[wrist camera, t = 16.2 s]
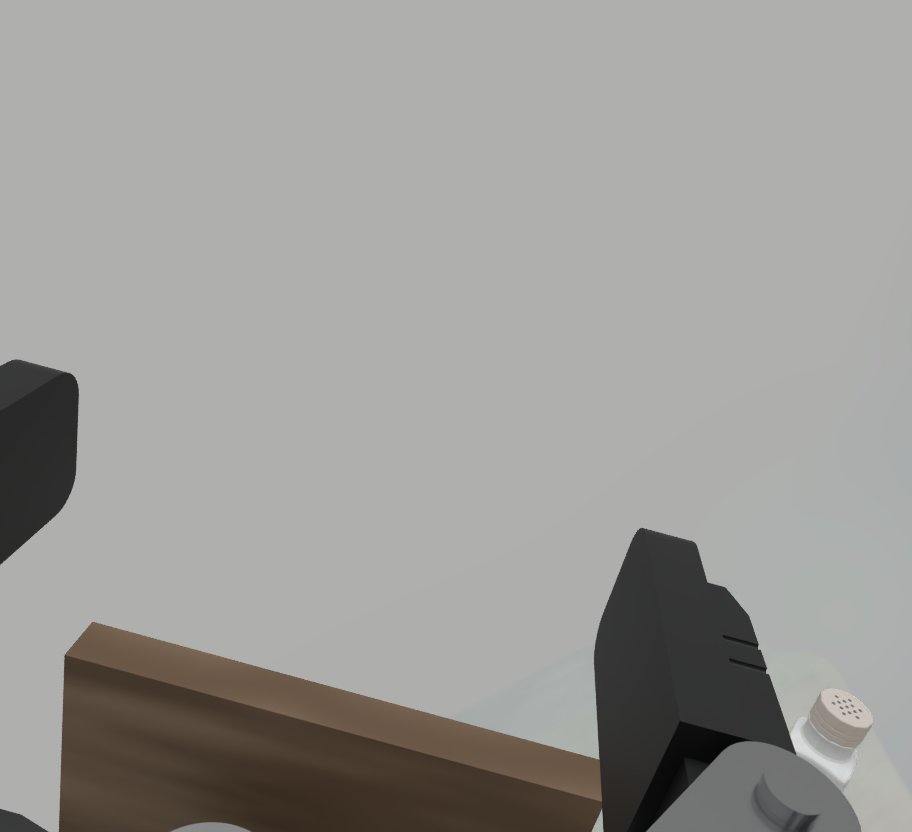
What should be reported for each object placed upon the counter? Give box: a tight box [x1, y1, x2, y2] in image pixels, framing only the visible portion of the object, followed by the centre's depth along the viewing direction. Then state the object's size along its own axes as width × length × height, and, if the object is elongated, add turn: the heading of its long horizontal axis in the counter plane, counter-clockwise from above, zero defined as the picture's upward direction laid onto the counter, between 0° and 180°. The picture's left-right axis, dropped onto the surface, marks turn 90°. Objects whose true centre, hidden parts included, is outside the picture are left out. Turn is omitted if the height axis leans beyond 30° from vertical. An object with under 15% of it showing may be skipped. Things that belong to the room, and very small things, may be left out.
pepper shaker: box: [789, 688, 873, 792], centre depth 51 cm, size 4×4×10 cm
